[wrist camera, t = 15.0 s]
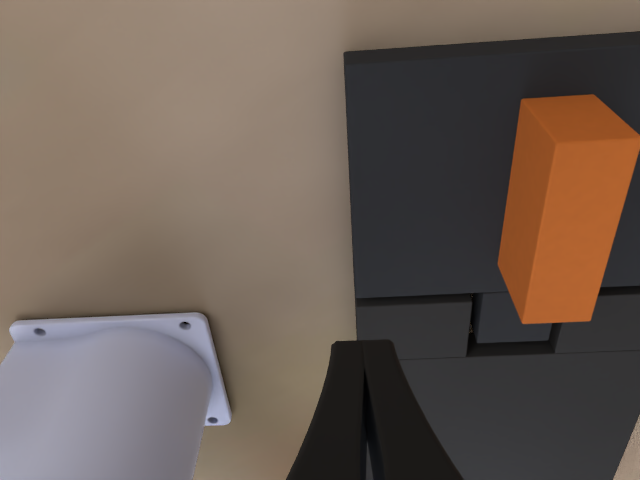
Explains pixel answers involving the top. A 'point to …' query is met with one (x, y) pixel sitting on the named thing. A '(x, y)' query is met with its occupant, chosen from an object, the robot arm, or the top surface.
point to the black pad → (518, 385)
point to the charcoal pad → (497, 176)
